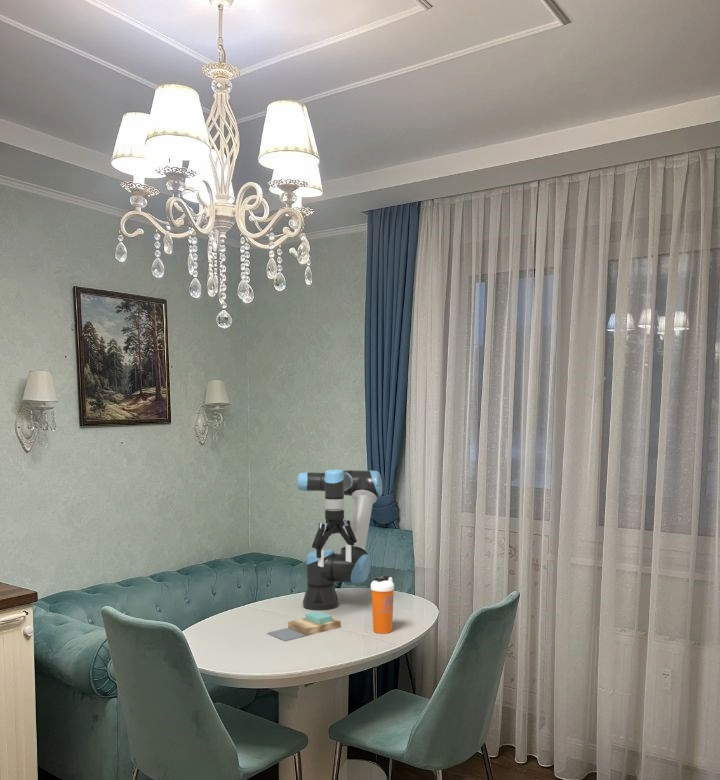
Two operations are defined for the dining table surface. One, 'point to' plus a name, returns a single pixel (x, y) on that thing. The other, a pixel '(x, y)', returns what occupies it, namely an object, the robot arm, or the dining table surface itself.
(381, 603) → the shaker bottle
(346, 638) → the dining table surface
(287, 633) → the mat
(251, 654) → the dining table surface
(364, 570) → the robot arm
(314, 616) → the turquoise rectangular block
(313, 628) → the tan wooden board
